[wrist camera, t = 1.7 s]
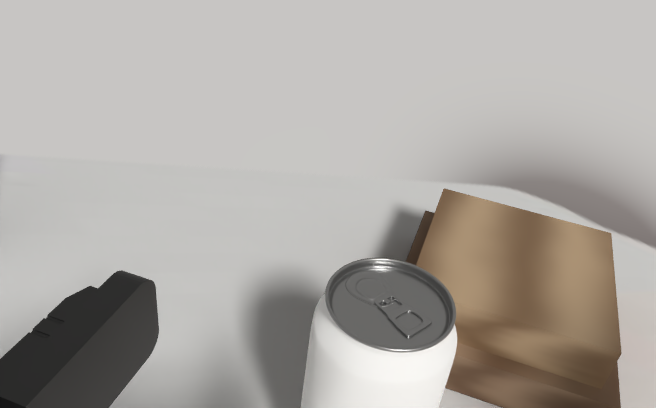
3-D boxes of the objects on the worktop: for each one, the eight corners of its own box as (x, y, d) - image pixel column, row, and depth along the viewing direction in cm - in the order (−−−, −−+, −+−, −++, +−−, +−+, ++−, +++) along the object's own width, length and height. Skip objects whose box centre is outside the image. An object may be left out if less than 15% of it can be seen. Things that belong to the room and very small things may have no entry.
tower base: (372, 362, 38) (387, 293, 35) (418, 240, 49) (433, 178, 46) (601, 441, 35) (642, 372, 32) (595, 291, 46) (625, 229, 43)
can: (358, 393, 36) (391, 234, 29) (439, 475, 32) (497, 314, 25) (270, 450, 32) (284, 284, 26) (349, 550, 29) (390, 386, 22)
